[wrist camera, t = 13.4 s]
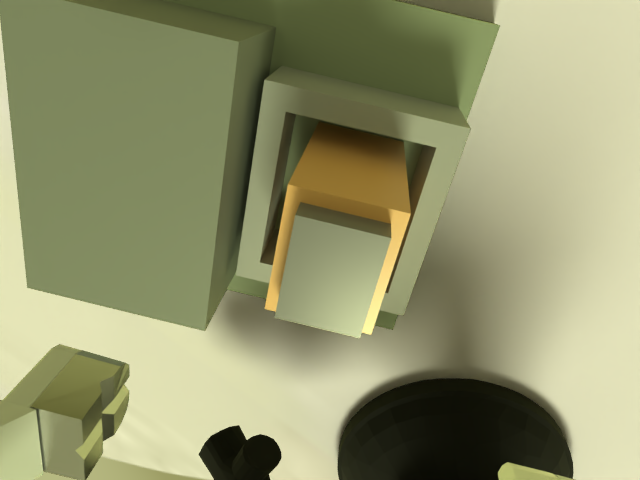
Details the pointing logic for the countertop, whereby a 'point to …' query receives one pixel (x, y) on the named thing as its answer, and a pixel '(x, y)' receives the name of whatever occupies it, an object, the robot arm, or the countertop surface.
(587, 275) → the countertop surface
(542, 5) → the countertop surface
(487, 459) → the sculpture
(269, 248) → the green plate with frame
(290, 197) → the yellow box green face
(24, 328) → the countertop surface
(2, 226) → the countertop surface
